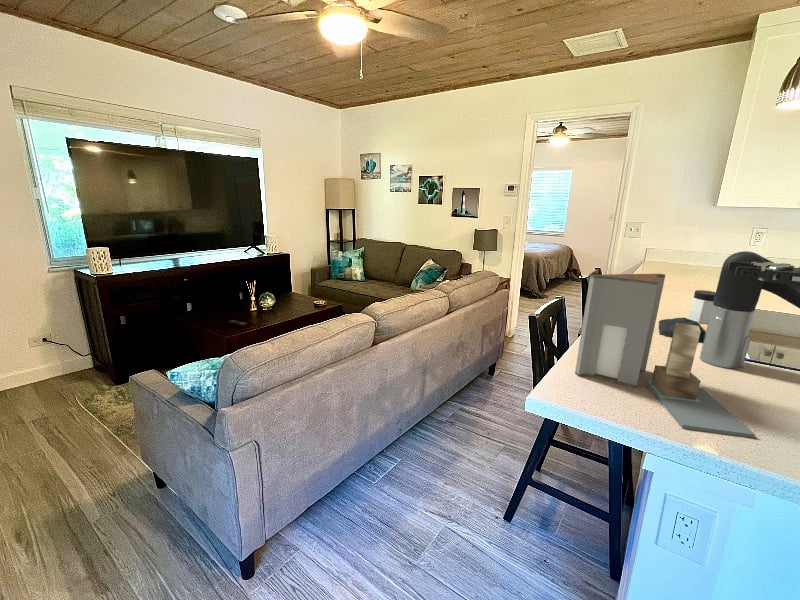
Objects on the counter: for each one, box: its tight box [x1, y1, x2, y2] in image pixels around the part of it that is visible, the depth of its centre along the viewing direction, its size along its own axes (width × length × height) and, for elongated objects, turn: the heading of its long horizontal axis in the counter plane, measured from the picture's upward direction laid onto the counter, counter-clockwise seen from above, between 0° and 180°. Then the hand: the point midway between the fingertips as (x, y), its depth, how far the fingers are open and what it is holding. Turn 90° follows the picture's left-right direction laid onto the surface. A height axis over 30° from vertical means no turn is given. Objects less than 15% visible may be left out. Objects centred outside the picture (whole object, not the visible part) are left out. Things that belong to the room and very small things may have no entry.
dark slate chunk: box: [658, 317, 706, 344], centre depth 138 cm, size 15×22×5 cm
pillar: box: [665, 323, 701, 379], centre depth 90 cm, size 4×4×12 cm
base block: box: [650, 364, 701, 400], centre depth 92 cm, size 7×7×5 cm
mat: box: [645, 380, 756, 439], centre depth 87 cm, size 13×20×1 cm, turn 167°
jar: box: [687, 289, 716, 325], centre depth 150 cm, size 9×8×12 cm
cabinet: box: [574, 273, 666, 389], centre depth 97 cm, size 21×10×28 cm, turn 100°
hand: (732, 268), depth 86 cm, fingers open, 8 cm apart
